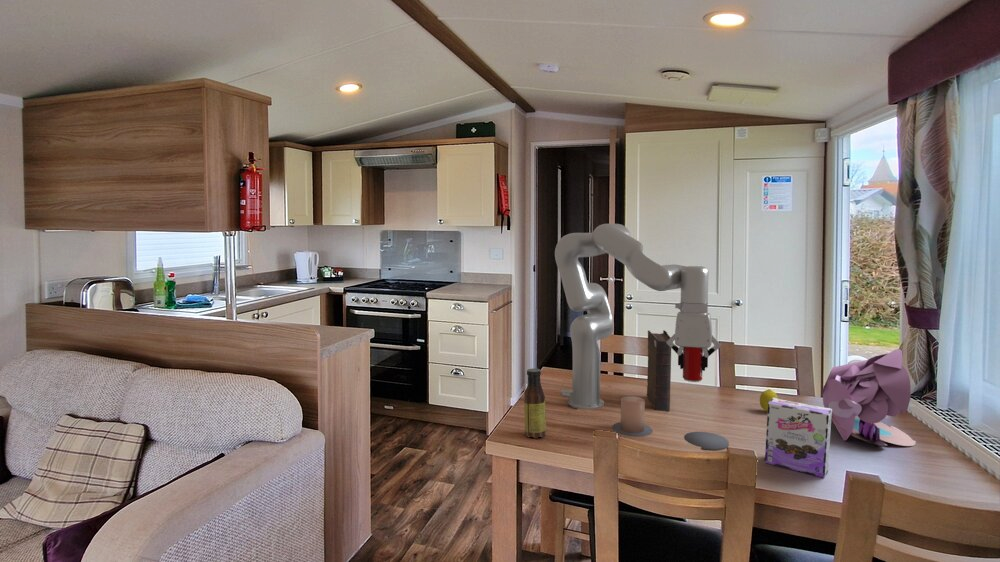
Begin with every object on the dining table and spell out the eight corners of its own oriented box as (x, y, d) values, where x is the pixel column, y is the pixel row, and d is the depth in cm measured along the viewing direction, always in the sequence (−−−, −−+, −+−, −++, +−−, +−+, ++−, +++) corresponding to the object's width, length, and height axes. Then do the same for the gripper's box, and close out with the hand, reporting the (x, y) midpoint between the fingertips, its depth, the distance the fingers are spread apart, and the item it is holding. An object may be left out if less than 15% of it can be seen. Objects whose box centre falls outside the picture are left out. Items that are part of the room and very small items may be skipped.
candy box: (763, 463, 139) (766, 402, 137) (769, 455, 143) (772, 396, 142) (824, 478, 130) (828, 413, 128) (828, 470, 135) (832, 407, 133)
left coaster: (608, 434, 158) (608, 432, 158) (616, 421, 169) (616, 419, 169) (649, 441, 153) (649, 439, 153) (655, 426, 164) (655, 424, 164)
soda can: (703, 382, 154) (704, 342, 153) (684, 382, 155) (685, 341, 154) (700, 377, 159) (701, 338, 158) (681, 377, 160) (682, 338, 159)
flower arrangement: (936, 477, 141) (977, 381, 134) (840, 453, 145) (875, 358, 139) (876, 419, 174) (907, 339, 168) (800, 400, 179) (827, 322, 172)
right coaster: (682, 446, 150) (682, 444, 150) (685, 431, 161) (685, 429, 161) (728, 453, 145) (728, 451, 145) (728, 437, 156) (728, 435, 156)
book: (670, 413, 176) (672, 339, 174) (648, 411, 178) (650, 338, 175) (666, 397, 192) (668, 330, 190) (645, 396, 194) (647, 329, 191)
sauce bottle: (550, 435, 158) (550, 370, 156) (536, 441, 153) (536, 374, 151) (533, 429, 162) (533, 366, 160) (519, 435, 158) (519, 369, 156)
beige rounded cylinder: (618, 431, 159) (618, 402, 158) (622, 423, 166) (623, 395, 165) (642, 434, 156) (642, 405, 156) (645, 426, 163) (646, 398, 162)
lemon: (780, 416, 173) (781, 392, 173) (761, 415, 174) (762, 391, 174) (774, 410, 179) (776, 387, 178) (757, 409, 180) (758, 386, 179)
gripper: (662, 308, 155) (661, 369, 157) (725, 311, 149) (724, 374, 150) (664, 305, 162) (663, 363, 164) (725, 307, 155) (724, 368, 157)
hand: (692, 368), depth 157 cm, fingers closed on soda can, 5 cm apart
